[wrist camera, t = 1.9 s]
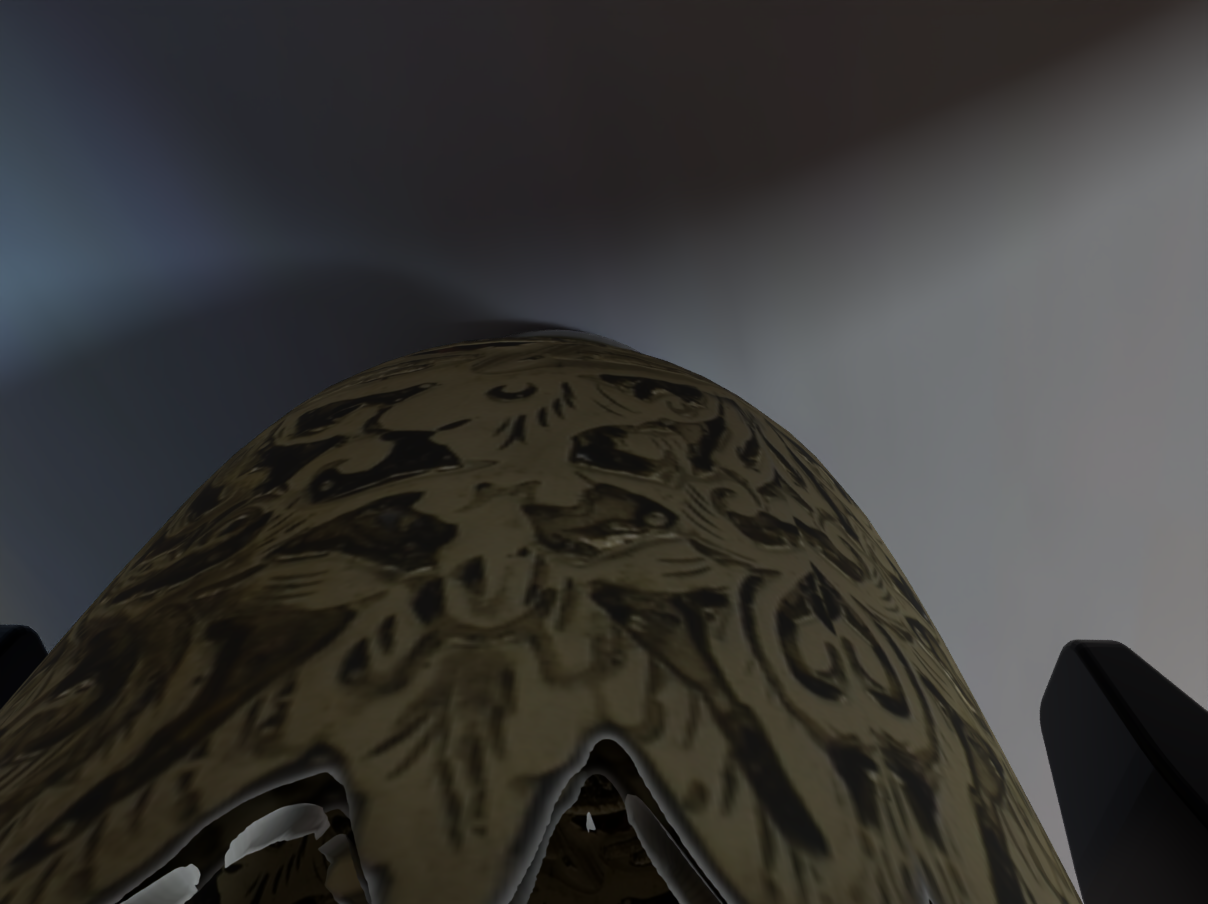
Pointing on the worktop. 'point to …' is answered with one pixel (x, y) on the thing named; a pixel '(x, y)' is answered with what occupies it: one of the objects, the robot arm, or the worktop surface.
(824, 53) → the worktop surface
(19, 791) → the cup
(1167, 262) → the worktop surface
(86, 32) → the worktop surface
